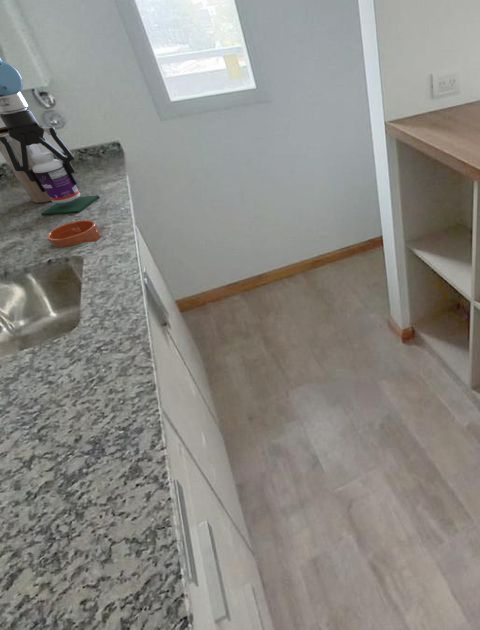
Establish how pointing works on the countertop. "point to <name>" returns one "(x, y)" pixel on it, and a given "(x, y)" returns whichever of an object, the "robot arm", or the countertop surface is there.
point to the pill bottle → (54, 178)
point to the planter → (33, 149)
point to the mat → (71, 206)
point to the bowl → (74, 233)
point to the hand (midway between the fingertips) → (60, 186)
